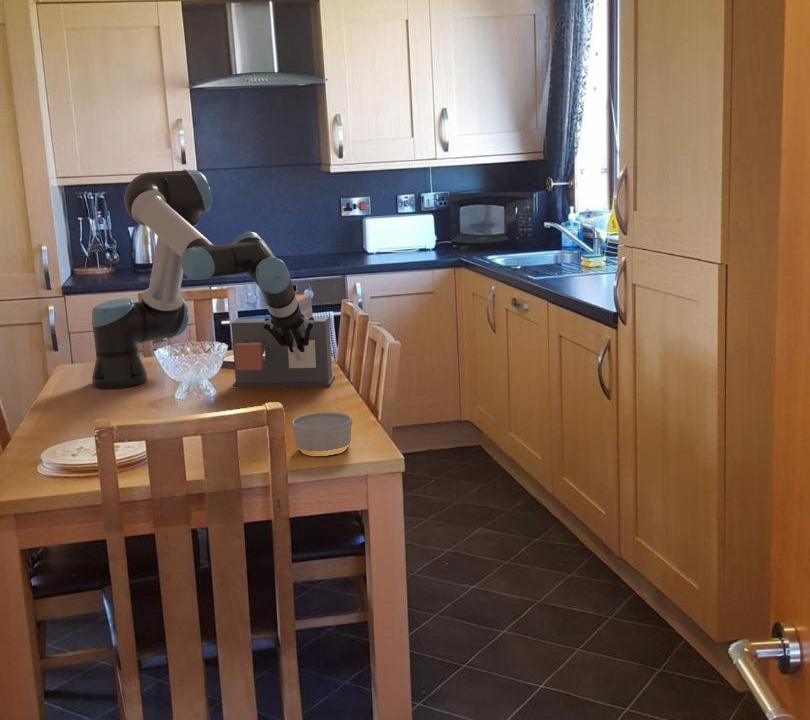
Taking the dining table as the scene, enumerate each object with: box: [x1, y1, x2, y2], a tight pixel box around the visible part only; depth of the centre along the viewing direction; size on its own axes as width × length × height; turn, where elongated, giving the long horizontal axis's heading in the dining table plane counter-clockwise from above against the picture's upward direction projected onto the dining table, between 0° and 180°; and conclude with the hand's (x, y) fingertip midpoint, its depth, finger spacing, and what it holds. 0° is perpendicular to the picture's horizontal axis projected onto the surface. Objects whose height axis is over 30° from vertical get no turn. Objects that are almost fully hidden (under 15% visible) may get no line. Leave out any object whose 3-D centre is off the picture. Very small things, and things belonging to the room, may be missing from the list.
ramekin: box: [291, 411, 353, 451], centre depth 220 cm, size 13×13×7 cm
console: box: [230, 316, 336, 389], centre depth 278 cm, size 9×27×18 cm, turn 85°
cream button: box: [288, 340, 316, 368], centre depth 273 cm, size 10×7×7 cm, turn 175°
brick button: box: [234, 341, 265, 370], centre depth 273 cm, size 10×7×7 cm, turn 175°
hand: (300, 356), depth 267 cm, fingers closed
